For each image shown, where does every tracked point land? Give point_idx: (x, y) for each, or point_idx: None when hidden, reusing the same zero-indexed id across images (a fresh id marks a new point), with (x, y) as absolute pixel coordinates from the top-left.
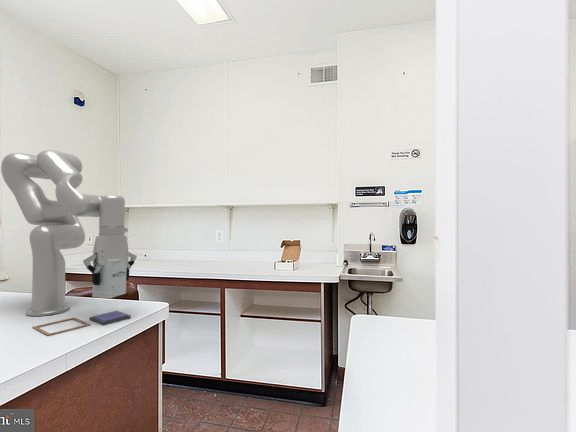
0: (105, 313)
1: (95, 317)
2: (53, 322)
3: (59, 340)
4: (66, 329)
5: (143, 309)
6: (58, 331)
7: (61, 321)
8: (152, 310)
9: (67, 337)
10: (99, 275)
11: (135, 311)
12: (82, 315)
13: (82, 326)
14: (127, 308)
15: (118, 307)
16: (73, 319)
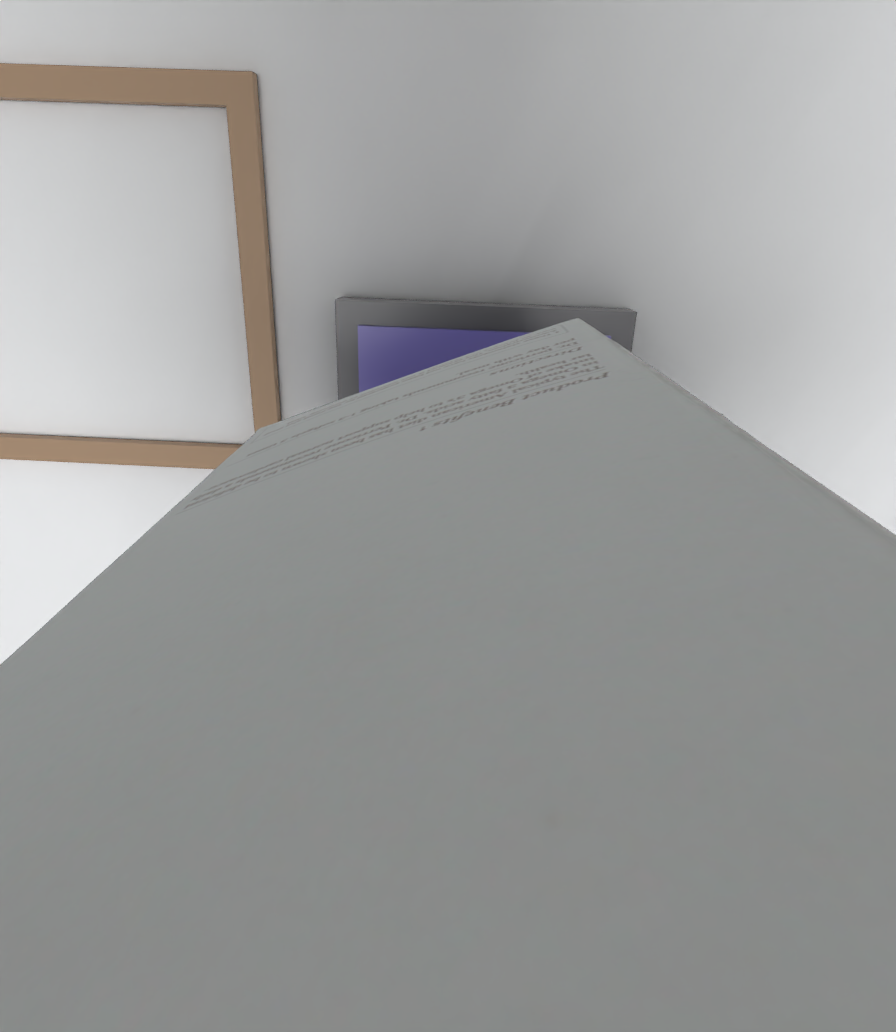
0: (491, 335)
1: (358, 384)
2: (32, 87)
3: (20, 599)
4: (90, 443)
5: (881, 409)
6: (29, 442)
7: (112, 103)
8: (883, 519)
9: (72, 587)
10: None
11: (782, 405)
12: (369, 10)
13: (211, 468)
14: (845, 202)
15: (839, 33)
16: (231, 127)
